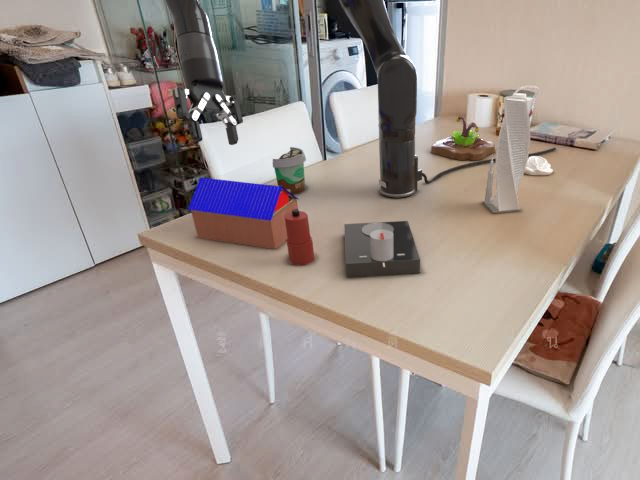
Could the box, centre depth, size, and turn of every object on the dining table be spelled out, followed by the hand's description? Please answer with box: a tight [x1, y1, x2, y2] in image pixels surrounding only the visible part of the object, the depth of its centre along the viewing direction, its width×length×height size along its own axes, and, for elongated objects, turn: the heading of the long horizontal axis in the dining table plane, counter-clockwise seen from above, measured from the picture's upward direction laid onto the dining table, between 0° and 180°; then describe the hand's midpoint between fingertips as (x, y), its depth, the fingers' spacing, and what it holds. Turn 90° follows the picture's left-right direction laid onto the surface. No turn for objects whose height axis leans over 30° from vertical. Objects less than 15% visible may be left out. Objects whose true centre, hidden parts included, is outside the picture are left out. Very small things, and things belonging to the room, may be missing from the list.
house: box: [187, 177, 299, 250], centre depth 100 cm, size 12×20×12 cm, turn 73°
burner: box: [362, 222, 394, 236], centre depth 97 cm, size 7×7×1 cm
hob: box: [343, 220, 421, 279], centre depth 93 cm, size 20×14×3 cm
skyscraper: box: [482, 84, 540, 215], centre depth 107 cm, size 8×8×28 cm
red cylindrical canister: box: [284, 208, 315, 266], centre depth 90 cm, size 5×5×10 cm
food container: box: [272, 146, 307, 196], centre depth 123 cm, size 12×6×10 cm, turn 168°
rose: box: [524, 155, 554, 176], centre depth 138 cm, size 10×4×10 cm
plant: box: [430, 116, 496, 162], centre depth 154 cm, size 20×20×11 cm
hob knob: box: [370, 229, 394, 261], centre depth 86 cm, size 4×4×5 cm
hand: (216, 142), depth 98 cm, fingers open, 8 cm apart
